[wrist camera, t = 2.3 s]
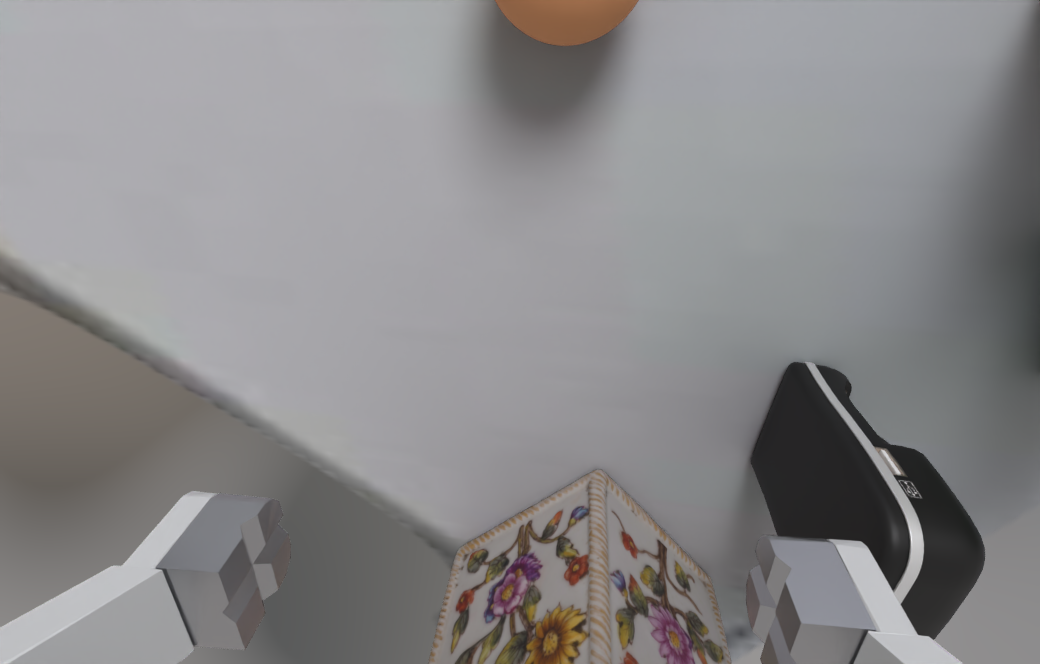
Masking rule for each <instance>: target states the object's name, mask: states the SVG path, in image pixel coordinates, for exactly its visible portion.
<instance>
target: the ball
mask: <svg viewBox="0 0 1040 664" xmlns="http://www.w3.org/2000/svg"><path fill="white" fill-rule="evenodd" d="M495 1H496V3H497V5H498V7H499V8H500V10H501V11H502V12H503V14H504V15H505V16H506V18H507V19H508V20H509V21H510V22H511V23H512V24H513V25H514V26H515V27H517V28H518V29H519V30H520V31H522V32H523V33H524V34H526V35H528V36H530V37H531V38H533V39H535V40H538V41H541V42H543V43H547V44H551V45H559V46H571V45H579V44H583V43H587V42H590V41H592V40H595V39H597V38H599V37H601V36H603V35H605V34H607V33H608V32H609V31H611V30H612V29H614V28H615V27H616V26H617V25H618V24H619V23H621V22H622V21H623V20H624V19H625V18H626V16H627V15H628V14H629V13H630V12H631V11H632V9H633V8H634V6H635V5H636V3H637V2H638V0H495Z"/></svg>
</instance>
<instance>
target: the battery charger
mask: <svg viewBox="0 0 1040 664" xmlns="http://www.w3.org/2000/svg"><path fill="white" fill-rule="evenodd" d="M850 393H851V384H850V382H849V381H848V379H847V378H846V376H845V375H843V374H842V373H840V372H839V371H837V370H834V369H831V368H829V367H826V366H819V365H815V364H814V363H812V362H803V363H799V362H794V363H792V364H790V365H789V367H788V369H787V371H786V374H785V376H784V378H783V381H782V383H781V385H780V388H779V390H778V393H777V395H776V397H775V400H774V402H773V405H772V407H771V410H770V412H769V414H768V417H767V420H766V422H765V425H764V427H763V430H762V432H761V435H760V437H759V440H758V442H757V445H756V448H755V450H754V453H753V456H752V458H751V464H752V467H753V469H754V472H755V474H756V477H757V479H758V482H759V484H760V487H761V489H762V492H763V494H764V497H765V500H766V503H767V506H768V509H769V512H770V515H771V518H772V521H773V524H774V527H775V530H776V533H777V535H778V536H790V537H805V538H821V539H825V540H827V539H835V540H850V541H861V542H862V543H864V544H865V545H866V546H867V547H868V549H869V550H870V552H871V554H872V556H873V557H874V559H875V561H876V562H877V564H878V566H879V568H880V569H881V571H882V573H883V575H884V576H885V578H886V580H887V582H888V583H889V585H890V587H891V589H892V590H893V592H894V594H895V596H896V597H897V599H898V601H899V603H900V604H901V606H902V608H903V610H904V611H905V613H906V615H907V617H908V618H909V620H910V622H911V624H912V625H913V627H914V629H915V631H916V632H917V634H918V635H921V636H929V637H930V638H931V639H933V640H934V639H935V638H936V636H937V635H938V634H939V633H940V631H941V630H942V629H943V628H944V626H945V625H946V624H947V623H948V622H949V620H950V619H951V618H952V616H953V615H954V613H955V612H956V611H957V609H958V608H959V606H960V605H961V603H962V602H963V601H964V599H965V598H966V596H967V595H968V593H969V592H970V591H971V589H972V588H973V586H974V585H975V583H976V581H977V579H978V577H979V576H980V574H981V572H982V570H983V566H984V561H985V549H984V545H983V541H982V538H981V535H980V534H979V532H978V530H977V528H976V527H975V525H974V523H973V521H972V520H971V518H970V516H969V515H968V513H967V512H966V510H965V509H964V508H963V506H962V505H961V503H960V502H959V500H958V499H957V498H956V496H955V495H954V493H953V492H952V491H951V489H950V488H949V486H948V485H947V484H946V482H945V481H944V480H943V478H942V477H941V476H940V474H939V473H938V472H937V471H936V469H935V468H934V467H933V466H932V464H931V463H930V462H929V461H928V459H927V458H926V457H925V456H924V455H923V454H922V453H920V452H918V451H917V450H915V449H911V448H907V447H903V446H897V445H890V444H889V443H888V442H886V441H885V440H884V439H882V438H881V437H880V436H878V435H877V434H876V432H875V431H874V430H873V429H872V427H871V426H870V425H869V424H868V422H867V421H866V420H865V419H864V417H863V416H862V415H861V414H860V413H859V411H858V410H857V409H856V408H855V407H854V405H853V404H852V402H851V401H850V399H849V396H850Z"/></svg>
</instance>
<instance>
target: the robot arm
mask: <svg viewBox="0 0 1040 664" xmlns="http://www.w3.org/2000/svg"><path fill="white" fill-rule="evenodd" d="M282 517H283V511H282V508H281V505H280V502H279V501H278V500H275V499H271V498H262V497H252V496H242V495H233V494H222V493H219V494H218V493H208V492H198V491H192V492H190V493H188V494H186V495H184V496H182V497H181V499H180V500H179V501H178V502H177V503H176V504H175V505H174V507H173V508H172V509H171V510H170V511H169V512H168V513H167V515H166V516H165V517H164V518H163V520H161V521H160V523H159V524H158V525H157V526H156V527H155V528H154V529H153V531H152V532H151V533H150V534H149V535H148V536H147V538H146V539H145V540H144V541H143V542H142V543H141V545H140V546H139V547H138V548H137V549H136V550H135V552H134V553H133V554H132V555H131V556H130V557H129V558H128V559H127V561H126V562H125V563H124V564H123V565H122V566H111V567H109V568H107V569H106V570H104V571H102V572H100V573H98V574H97V575H95V576H93V577H91V578H89V579H87V580H86V581H84V582H82V583H80V584H78V585H77V586H75V587H73V588H71V589H69V590H67V591H66V592H64V593H62V594H60V595H58V596H57V597H55V598H53V599H52V600H50V601H48V602H46V603H44V604H42V605H40V606H38V607H37V608H35V609H33V610H31V611H30V612H28V613H26V614H24V615H22V616H20V617H19V618H17V619H15V620H13V621H11V622H9V623H8V624H6V625H4V626H2V627H0V664H178V663H180V662H181V661H182V660H183V659H184V658H186V657H187V656H188V655H189V654H190V653H192V652H193V651H194V647H207V648H221V649H236V650H245V649H246V648H247V646H248V644H249V642H250V640H251V638H252V637H253V635H254V633H255V631H256V629H257V627H258V626H259V624H260V622H261V620H262V618H263V617H264V615H265V609H264V603H263V600H264V599H266V598H267V597H268V596H270V595H271V594H273V593H274V592H276V591H277V590H278V589H279V587H280V585H281V583H282V581H283V579H284V578H285V576H286V572H287V569H288V565H289V561H290V558H291V544H290V539H289V534H288V533H287V532H286V531H285V530H284V529H283V528H282V527H281V526H280V525H278V523H279V522H280V520H281V518H282ZM755 553H756V556H757V559H758V562H759V564H758V565H757V566H755V567H754V568H753V569H751V570H750V572H749V576H748V580H747V585H746V604H747V611H748V617H749V620H750V624H751V628H752V631H753V632H754V634H755V635H756V636H757V637H758V638H759V639H760V640H761V641H762V642H763V643H764V644H765V645H764V649H763V652H762V655H761V658H760V659H761V662H762V664H963V663H962V662H961V661H959V660H958V659H957V658H955V657H954V656H953V655H952V654H950V653H949V652H948V651H947V650H945V649H944V648H943V647H942V646H940V645H939V644H938V643H937V642H935V641H934V640H933V639H931V638H930V637H929V636H921V635H918V634H917V632H916V631H915V629H914V627H913V625H912V624H911V622H910V620H909V618H908V617H907V615H906V613H905V611H904V610H903V608H902V606H901V604H900V603H899V601H898V599H897V597H896V596H895V594H894V592H893V590H892V589H891V587H890V585H889V583H888V582H887V580H886V578H885V576H884V575H883V573H882V571H881V569H880V568H879V566H878V564H877V562H876V561H875V559H874V557H873V556H872V554H871V552H870V550H869V549H868V547H867V546H866V545H865V544H864V543H862V542H861V541H850V540H835V539H827V540H825V539H821V538H805V537H790V536H774V535H762V536H761V538H760V539H759V540H758V543H757V547H756V550H755Z"/></svg>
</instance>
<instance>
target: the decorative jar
mask: <svg viewBox="0 0 1040 664" xmlns="http://www.w3.org/2000/svg"><path fill="white" fill-rule="evenodd" d="M428 664H732V663H731V658H730V653H729V651H728V646H727V641H726V637H725V632H724V627H723V624H722V620H721V615H720V611H719V608H718V604H717V600H716V596H715V592H714V589H713V585H712V580H711V577H710V576H708V575H707V574H706V573H705V572H704V571H703V570H702V569H701V568H700V567H699V566H698V565H696V564H695V562H694V561H693V560H692V559H691V558H690V557H689V556H688V555H687V554H686V553H685V552H684V551H683V550H682V549H681V548H680V547H679V546H678V545H677V544H676V543H675V542H674V541H673V540H672V539H671V538H670V536H668V535H667V534H666V533H665V532H664V531H663V530H662V529H661V528H660V527H659V526H658V525H657V524H656V523H655V522H654V521H653V520H652V518H651V517H650V516H649V515H648V514H647V513H646V512H645V511H644V510H643V509H642V508H641V507H640V506H639V505H638V504H637V503H636V502H635V501H634V500H633V499H632V498H631V497H630V496H629V495H628V494H627V493H626V492H624V491H623V490H622V489H621V488H620V487H619V486H618V485H617V484H616V483H615V482H614V481H613V480H612V479H611V478H610V477H609V476H608V475H607V474H606V473H605V472H604V471H602V470H595V471H593V472H591V473H589V474H587V475H585V476H583V477H581V478H580V479H578V480H577V481H575V482H573V483H572V484H570V485H568V486H566V487H565V488H563V489H561V490H559V491H558V492H556V493H554V494H552V495H551V496H549V497H547V498H545V499H544V500H542V501H540V502H538V503H537V504H535V505H534V506H532V507H530V508H528V509H526V510H524V511H523V512H521V513H519V514H517V515H516V516H514V517H512V518H510V519H509V520H507V521H505V522H503V523H502V524H500V525H498V526H496V527H495V528H493V529H491V530H489V531H488V532H486V533H484V534H483V535H481V536H479V537H477V538H476V539H474V540H472V541H470V542H468V543H467V544H465V545H463V546H462V547H461V548H460V549H459V550H458V552H457V554H456V557H455V559H454V563H453V567H452V570H451V573H450V578H449V582H448V585H447V589H446V593H445V597H444V601H443V605H442V608H441V613H440V617H439V621H438V625H437V629H436V634H435V638H434V641H433V646H432V649H431V654H430V657H429V662H428Z"/></svg>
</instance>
